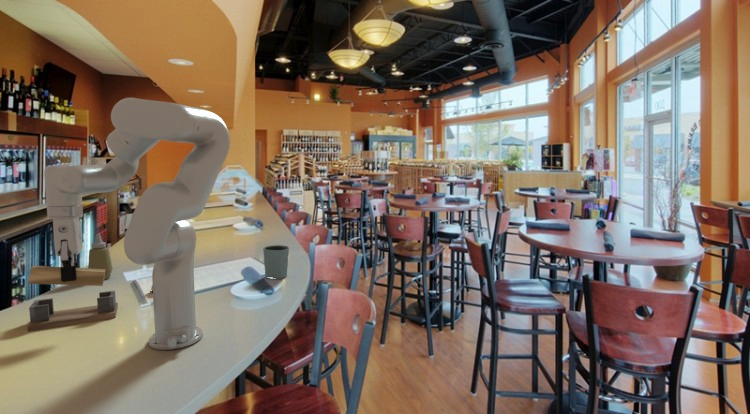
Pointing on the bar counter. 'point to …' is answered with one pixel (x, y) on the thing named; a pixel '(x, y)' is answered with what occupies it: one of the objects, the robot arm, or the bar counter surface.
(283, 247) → the grey green cup
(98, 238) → the squeeze bottle
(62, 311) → the cradle board
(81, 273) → the oak slat
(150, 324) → the bar counter surface
